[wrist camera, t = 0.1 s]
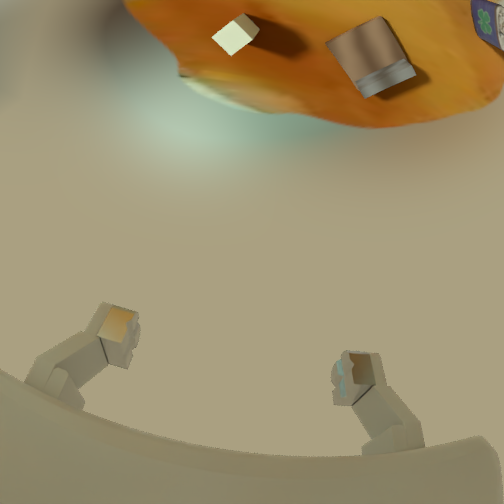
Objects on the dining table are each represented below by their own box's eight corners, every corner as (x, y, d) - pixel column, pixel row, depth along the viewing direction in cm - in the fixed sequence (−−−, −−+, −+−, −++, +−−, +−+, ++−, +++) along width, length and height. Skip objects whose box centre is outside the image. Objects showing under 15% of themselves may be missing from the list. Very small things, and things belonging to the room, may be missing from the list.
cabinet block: (243, 13, 38) (233, 20, 33) (260, 29, 41) (252, 39, 35) (225, 26, 41) (211, 37, 35) (241, 42, 43) (230, 55, 38)
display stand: (379, 15, 34) (388, 20, 31) (408, 63, 40) (418, 74, 37) (325, 43, 41) (328, 50, 38) (356, 87, 48) (362, 99, 44)
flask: (486, 38, 29) (515, 56, 23) (474, 38, 30) (504, 54, 24) (479, -3, 23) (510, 7, 16) (467, -5, 24) (498, 5, 18)
